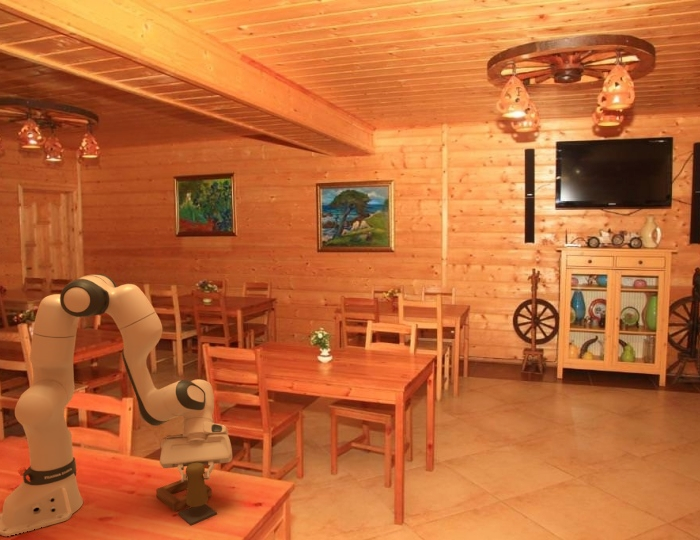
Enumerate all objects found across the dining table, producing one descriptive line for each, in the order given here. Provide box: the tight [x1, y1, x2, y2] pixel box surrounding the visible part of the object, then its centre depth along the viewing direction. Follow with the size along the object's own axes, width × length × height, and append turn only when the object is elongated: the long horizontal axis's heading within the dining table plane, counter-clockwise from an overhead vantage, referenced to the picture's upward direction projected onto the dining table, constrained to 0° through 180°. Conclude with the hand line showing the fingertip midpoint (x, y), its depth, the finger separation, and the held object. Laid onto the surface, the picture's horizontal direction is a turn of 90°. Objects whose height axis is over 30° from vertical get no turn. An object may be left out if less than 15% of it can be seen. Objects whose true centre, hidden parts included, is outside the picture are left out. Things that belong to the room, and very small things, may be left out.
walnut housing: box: [155, 477, 213, 513], centre depth 167 cm, size 12×12×2 cm
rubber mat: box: [177, 503, 218, 526], centre depth 157 cm, size 8×8×1 cm
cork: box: [185, 462, 209, 507], centre depth 156 cm, size 6×6×11 cm
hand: (195, 479), depth 155 cm, fingers closed on cork, 5 cm apart
